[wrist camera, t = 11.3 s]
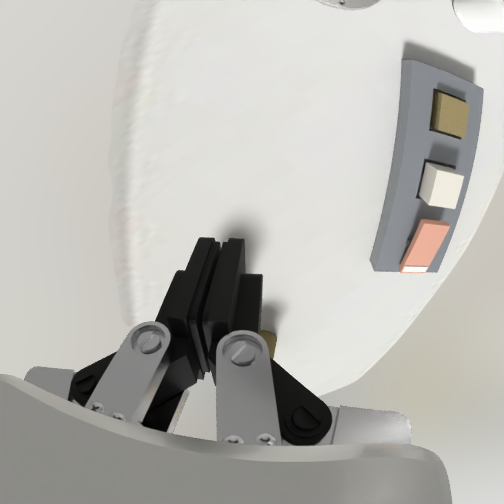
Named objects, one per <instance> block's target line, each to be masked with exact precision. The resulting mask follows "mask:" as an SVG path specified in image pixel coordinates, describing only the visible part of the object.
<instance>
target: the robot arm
mask: <svg viewBox="0 0 504 504" xmlns="http://www.w3.org/2000/svg"><path fill="white" fill-rule="evenodd" d="M316 1H319V2H321V3H323V4H325V5H328V6H331V7H334V8H339V9H346V10H358V9H364V8H368V7H370V6H372V5H374V4H376V3H377V2H379V1H380V0H316ZM340 3H342V4H343V5H341V4H340ZM262 283H263V275H262V274H245V243H244V239H236V238H229V240H228V242H223V245H222V248H221V247H220V242H215V238H204V237H200V238H199V239H198V241H197V244H196V246H195V248H194V251H193V253H192V255H191V258H190V260H189V262H188V265H187V267H186V270H185V271H183V270H178V271H177V272H176V274H175V276H174V278H173V280H172V282H171V285H170V287H169V289H168V292H167V294H166V296H165V298H164V301H163V303H162V306H161V308H160V310H159V313H158V315H157V318H156V320H155V322H153V321H150V322H144V323H141V324H139V325H137V326H136V327H134V328H133V329H132V330H131V331H130V332H129V334H128V335H127V337H126V338H125V340H124V341H123V343H122V345H121V346H120V348H119V350H118V351H117V352H115V353H113V354H111V355H109V356H107V357H105V358H103V359H101V360H99V361H97V362H95V363H93V364H91V365H89V366H87V367H85V368H83V369H81V370H80V371H79V372H75V371H74V370H69V369H68V370H67V369H57V368H47V367H33V368H32V369H30V370H29V371H28V372H27V374H26V376H25V379H24V380H22V379H20V378H17V377H14V376H10V375H5V374H0V504H452V498H451V490H450V484H449V480H448V475H447V472H446V469H445V467H444V464H443V462H442V460H441V459H440V458H439V457H438V455H436V454H435V453H434V452H432V451H430V450H427V449H425V448H422V447H418V446H414V445H410V440H411V424H410V422H409V420H408V418H407V417H406V416H404V415H403V414H402V413H399V412H394V411H381V410H372V409H363V408H354V407H347V406H340V407H339V408H338V407H331V406H327V405H326V404H325V403H324V402H323V401H322V400H320V399H319V398H318V397H317V396H315V395H314V394H313V393H312V392H311V391H309V390H308V389H307V388H306V387H304V386H303V385H302V384H301V383H300V382H298V381H297V380H296V379H295V378H294V377H293V376H291V375H290V374H289V373H288V372H287V371H285V370H284V369H283V368H282V367H281V366H280V365H279V364H277V363H276V362H275V361H274V360H273V359H272V358H271V357H270V356H269V349H268V346H267V343H266V341H265V340H264V339H263V337H261V336H260V322H261V308H262ZM210 370H211V373H212V376H213V380H214V383H215V386H216V411H217V413H216V417H217V441H211V440H204V439H197V438H192V437H186V436H181V435H175V434H173V432H174V429H175V427H176V424H177V422H178V419H179V417H180V414H181V412H182V409H183V407H184V405H185V402H186V400H187V397H188V395H189V392H190V387H191V386H192V385H194V384H195V383H197V379H202V380H203V379H204V375H205V372H210Z"/></svg>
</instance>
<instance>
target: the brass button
mask: <svg viewBox="0 0 504 504" xmlns="http://www.w3.org/2000/svg"><path fill="white" fill-rule="evenodd" d="M468 114H469V104H468V103H465V102H463V101H460V100H458V99H455V98H453V97H450V96H448V95H445V94H442V93H437V92H433V99H432V110H431V119H430V127H432V128H435V129H437V130H440V131H443V132H447V133H450V134H453V135H456V136H459V137H462V138H465V136H466V129H467V122H468Z"/></svg>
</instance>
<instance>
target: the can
mask: <svg viewBox="0 0 504 504" xmlns="http://www.w3.org/2000/svg"><path fill="white" fill-rule="evenodd" d="M453 6H454V11H455V14H456V16H457V17H458V19H459V20H460V22H461V23H462V24H463V25H464V26H465V27H466V28H467V29H469V30H470V31H472V32H476V33H482V32H504V0H454V2H453Z"/></svg>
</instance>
